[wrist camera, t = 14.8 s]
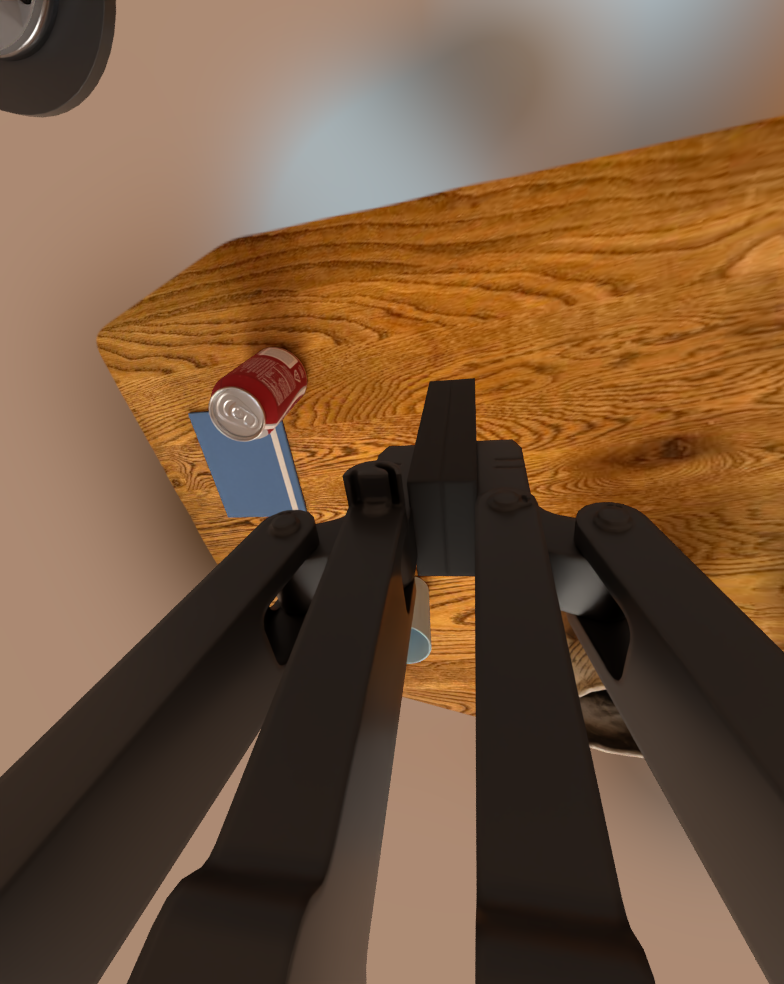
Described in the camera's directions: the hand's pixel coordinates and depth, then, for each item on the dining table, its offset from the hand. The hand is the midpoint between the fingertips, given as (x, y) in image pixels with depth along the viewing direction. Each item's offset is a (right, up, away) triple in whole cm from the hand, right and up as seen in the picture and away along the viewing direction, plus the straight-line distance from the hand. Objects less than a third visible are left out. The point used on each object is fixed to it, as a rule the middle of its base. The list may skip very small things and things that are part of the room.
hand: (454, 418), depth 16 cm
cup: (+1, -17, +53) cm, 55 cm away
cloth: (-21, +1, +45) cm, 49 cm away
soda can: (-15, +11, +37) cm, 42 cm away
